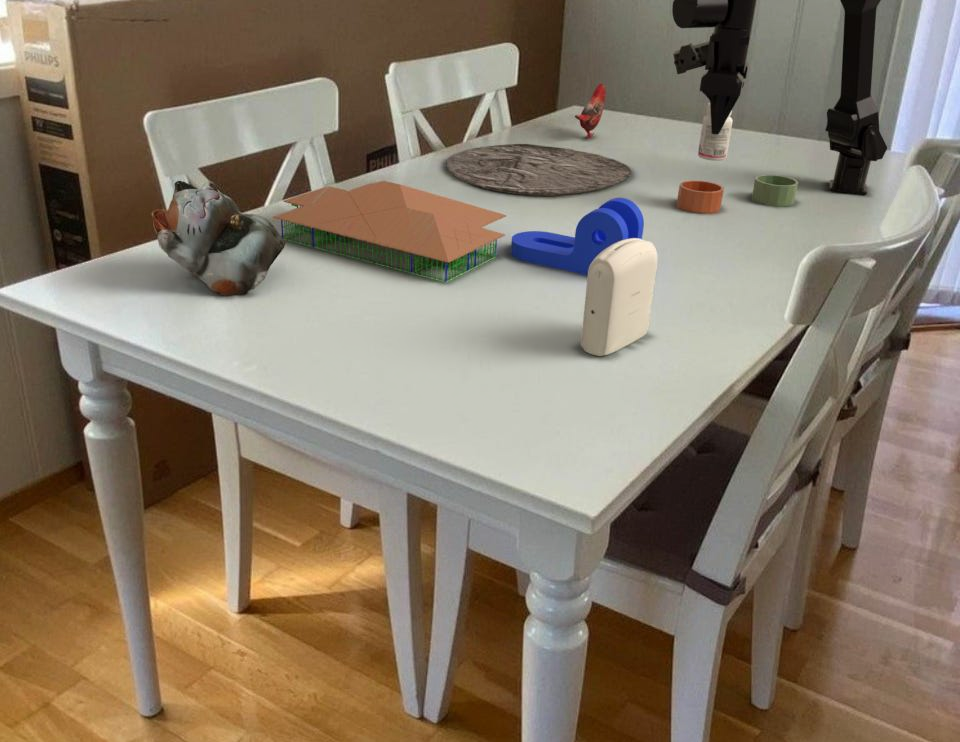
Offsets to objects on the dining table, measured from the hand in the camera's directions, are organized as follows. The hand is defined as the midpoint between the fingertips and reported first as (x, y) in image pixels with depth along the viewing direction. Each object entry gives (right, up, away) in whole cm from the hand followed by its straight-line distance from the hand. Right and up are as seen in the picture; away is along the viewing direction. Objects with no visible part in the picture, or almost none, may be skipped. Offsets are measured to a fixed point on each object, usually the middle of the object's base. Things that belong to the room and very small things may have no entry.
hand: (716, 130), depth 167 cm
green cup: (+13, -8, +12) cm, 19 cm away
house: (-51, -22, -16) cm, 58 cm away
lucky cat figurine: (-72, -32, -33) cm, 86 cm away
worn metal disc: (-28, 0, +22) cm, 36 cm away
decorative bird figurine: (-17, +14, +45) cm, 50 cm away
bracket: (-26, -26, -20) cm, 42 cm away
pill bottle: (0, -4, +2) cm, 4 cm away
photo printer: (-23, -42, -45) cm, 65 cm away
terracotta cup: (-2, -11, +6) cm, 13 cm away
